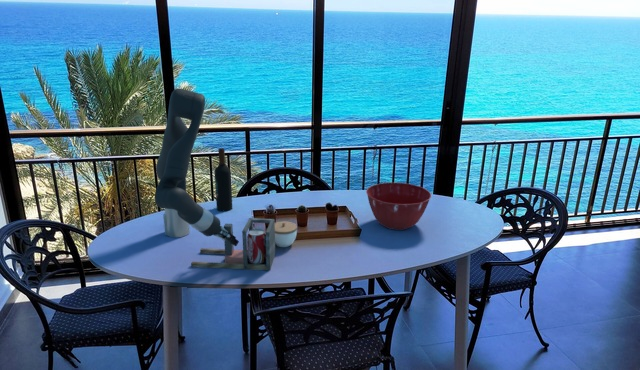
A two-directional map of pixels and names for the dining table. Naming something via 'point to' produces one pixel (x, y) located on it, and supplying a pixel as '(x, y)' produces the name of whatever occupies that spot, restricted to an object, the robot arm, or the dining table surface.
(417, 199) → the mixing bowl
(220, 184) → the wine bottle
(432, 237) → the dining table surface
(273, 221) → the grey bar frame
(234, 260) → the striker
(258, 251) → the soda can
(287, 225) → the lidded jar
